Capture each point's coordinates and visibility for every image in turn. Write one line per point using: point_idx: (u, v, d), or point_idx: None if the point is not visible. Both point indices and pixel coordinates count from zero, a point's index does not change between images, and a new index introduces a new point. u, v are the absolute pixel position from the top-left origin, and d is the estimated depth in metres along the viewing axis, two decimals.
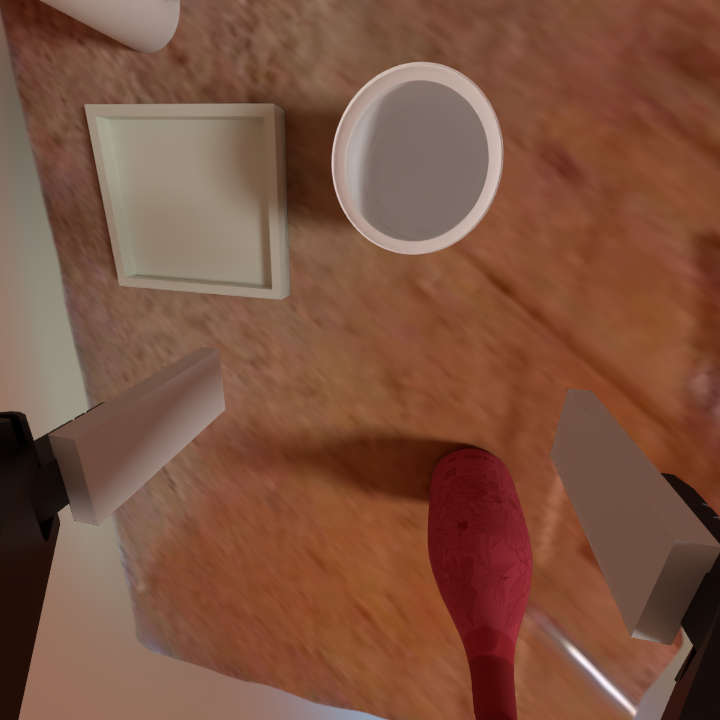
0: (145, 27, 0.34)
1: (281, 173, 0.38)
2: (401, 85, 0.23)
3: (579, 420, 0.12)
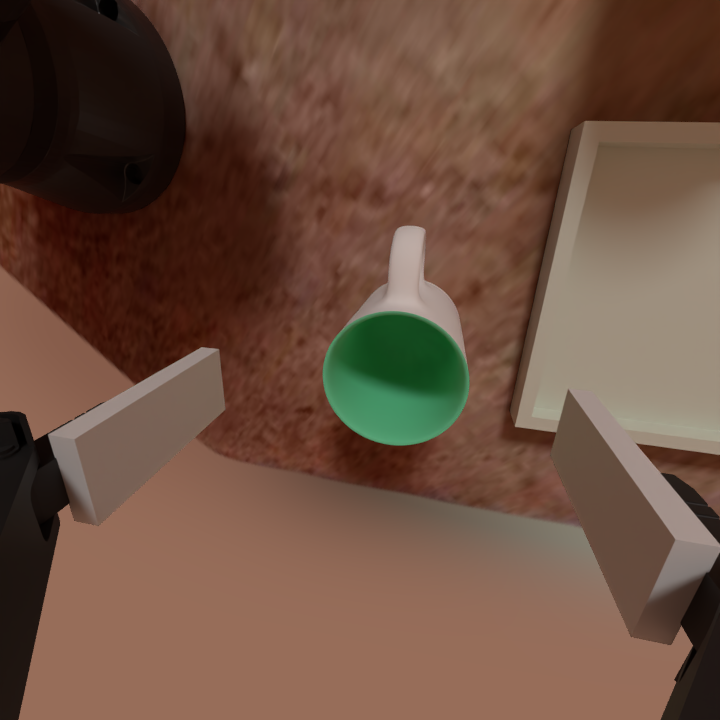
0: (454, 313, 0.26)
1: None
2: None
3: (579, 420, 0.12)
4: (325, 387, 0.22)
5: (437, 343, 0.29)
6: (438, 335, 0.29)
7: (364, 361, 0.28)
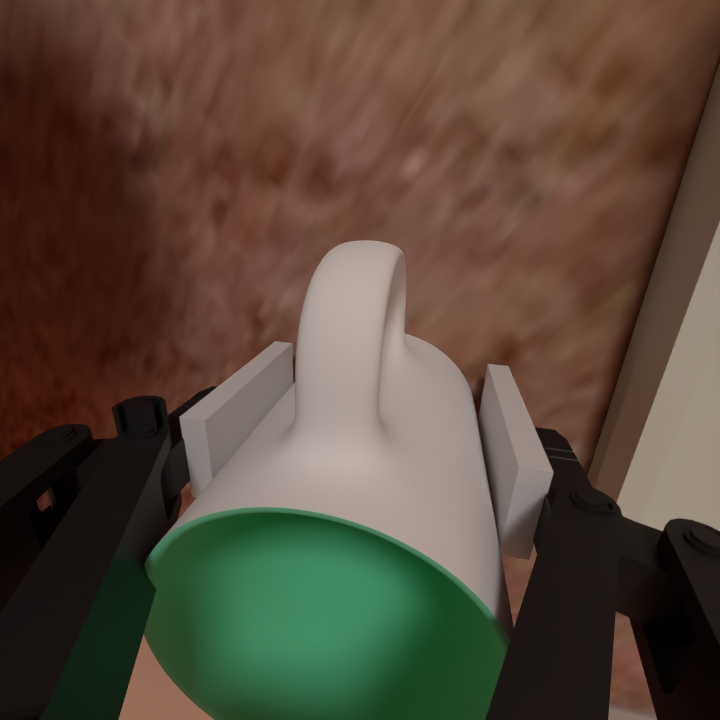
0: (468, 411, 0.13)
1: None
2: None
3: (490, 389, 0.14)
4: (153, 647, 0.09)
5: None
6: None
7: None
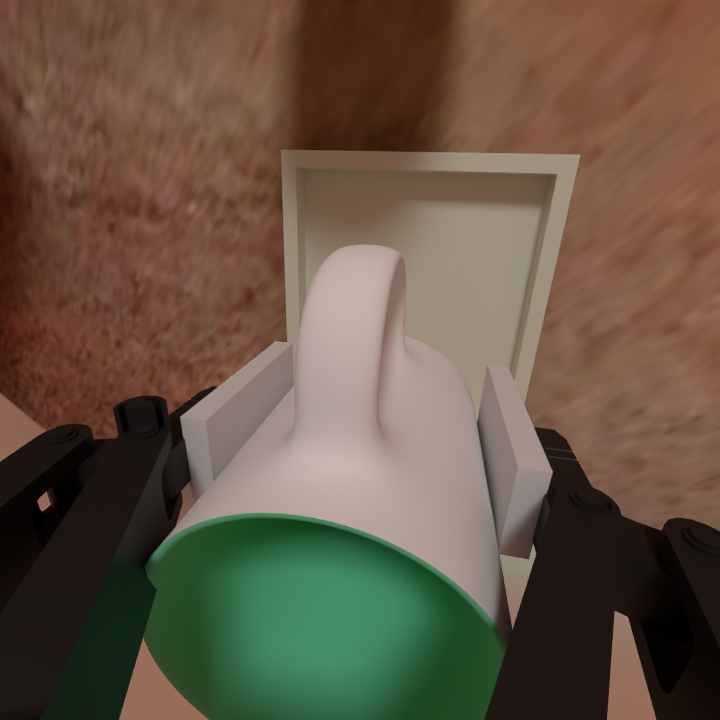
0: (467, 414, 0.13)
1: None
2: None
3: (490, 389, 0.14)
4: (152, 651, 0.09)
5: None
6: None
7: None
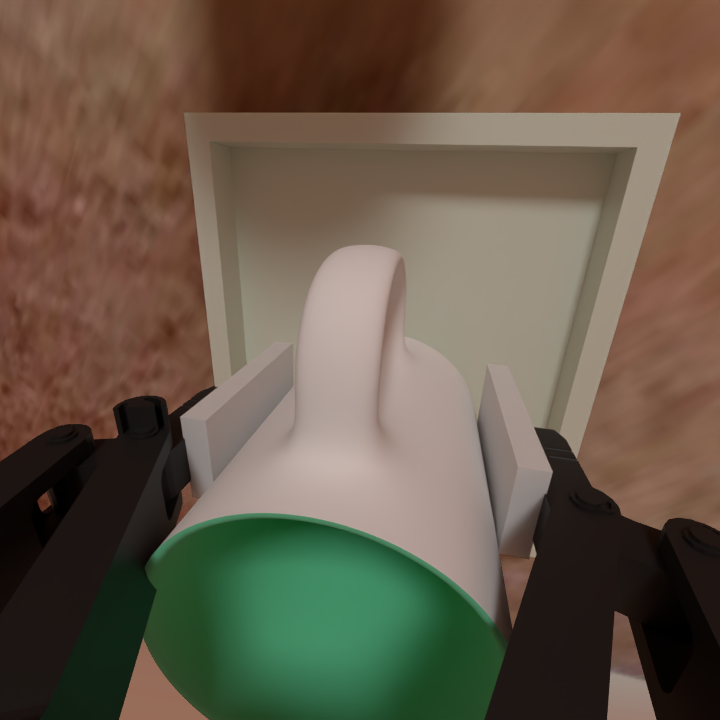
0: (467, 415, 0.13)
1: None
2: None
3: (490, 389, 0.14)
4: (152, 651, 0.09)
5: None
6: None
7: None
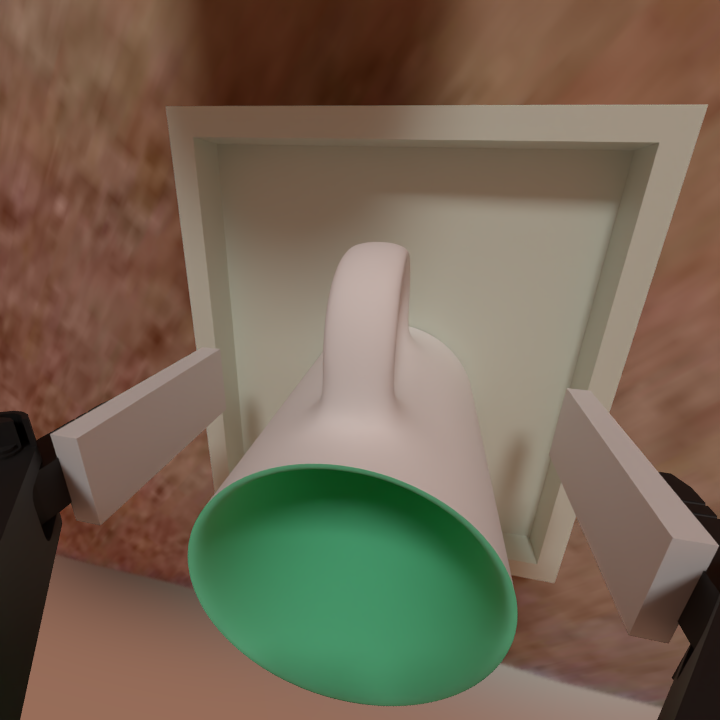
0: (466, 394, 0.15)
1: None
2: None
3: (578, 419, 0.12)
4: (199, 596, 0.10)
5: None
6: None
7: (312, 469, 0.17)
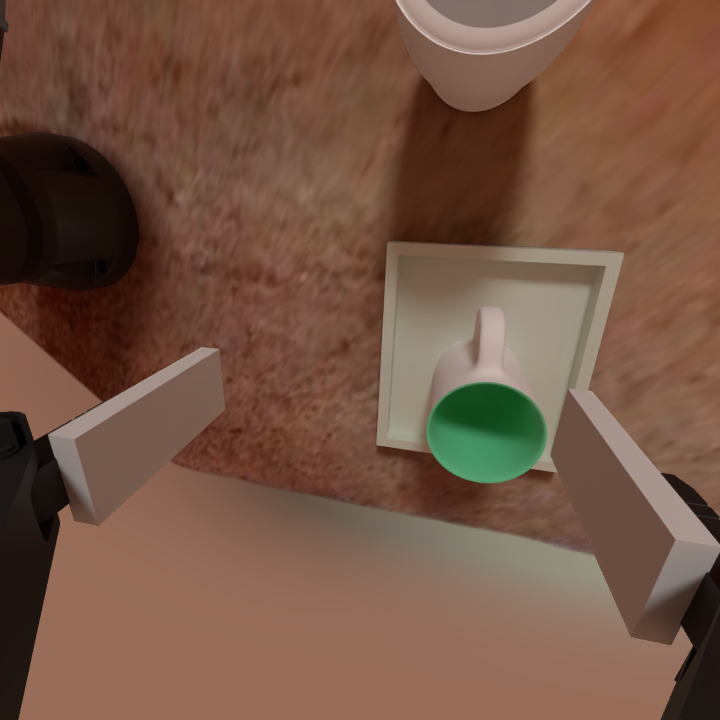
0: (522, 370, 0.32)
1: (455, 244, 0.32)
2: None
3: (580, 420, 0.12)
4: (427, 437, 0.28)
5: (503, 391, 0.35)
6: None
7: (444, 408, 0.34)
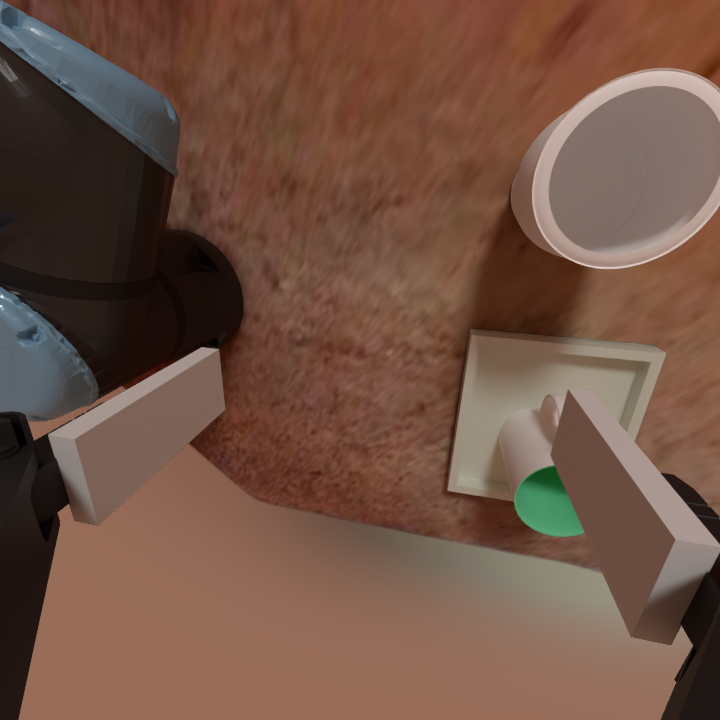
0: None
1: (526, 336, 0.40)
2: None
3: (579, 420, 0.12)
4: (515, 502, 0.35)
5: None
6: None
7: None
